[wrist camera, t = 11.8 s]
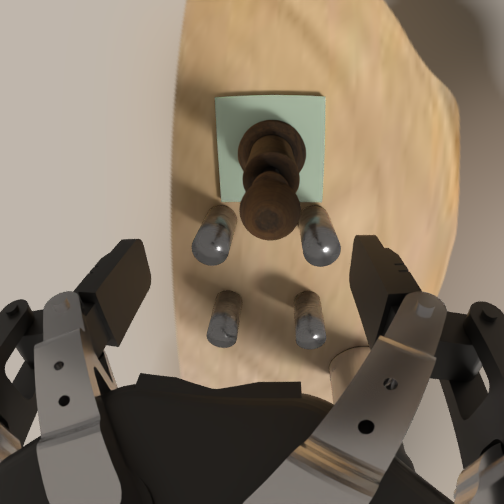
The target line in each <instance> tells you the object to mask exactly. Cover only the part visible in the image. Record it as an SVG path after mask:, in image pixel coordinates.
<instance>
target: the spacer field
mask: <svg viewBox="0 0 504 504" xmlns="http://www.w3.org/2000/svg"><path fill="white" fill-rule="evenodd" d="M236 224H237V217H236V214H235V213H234V211H233V210H232V209H230V208H229V207H227V206H222V205H220V206H215V207H213V208H211V209H210V210H209V212H208V213H207V215H206V217H205V219H204V221H203V223H202V225H201V227H200V229H199V231H198V233H197V235H196V237H195V238H194V240H193V243H192V252H193V255H194V256H195V258H196V259H197V260H198V261H200V262H201V263H203V264H205V265H210V266H214V265H219V264H221V263H222V262H224V261H225V260H226V258H227V256H228V253H229V250H230V246H231V242H232V239H233V235H234V231H235V228H236ZM298 224H299V229H300V236H301V242H302V248H303V254H304V257H305V259H306V260H307V261H308V262H309V263H310V264H312V265H314V266H319V267H322V266H327V265H330V264H332V263H333V262H334V261H335V260H336V259H337V258H338V257H339V255H340V251H341V246H340V243H339V240H338V238H337V235H336V233H335V230H334V228H333V225H332V223H331V220H330V218H329V215H328V213H327V212H326V210H325V209H323V208H322V207H320V206H309V207H306V208H305V209H303V210H302V211H301V214H300V219H299V221H298ZM241 307H242V299H241V297H240V296H239V295H238V294H237V293H235V292H233V291H222V292H220V293H219V294H218V295H217V297H216V301H215V304H214V308H213V312H212V316H211V320H210V324H209V327H208V331H207V339H208V341H209V342H210V343H211V344H213V345H214V346H217V347H221V348H227V347H231V346H233V345H234V344H235V343H236V340H237V333H238V327H239V320H240V313H241ZM294 314H295V331H296V343H297V345H298V346H300V347H301V348H304V349H315V348H318V347H320V346H322V345H323V344H324V343H325V341H326V332H325V326H324V320H323V314H322V308H321V302H320V298H319V296H318V295H317V294H316V293H313V292H302V293H300V294H299V295H297V296H296V298H295V299H294Z"/></svg>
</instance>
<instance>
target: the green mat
mask: <svg viewBox="0 0 504 504" xmlns="http://www.w3.org/2000/svg"><path fill="white" fill-rule="evenodd" d="M215 110H216V128H217V145H218V160H219V175H220V189H221V202H241V200H242V197H243V195H244V194H245V189H244V187H243V181H242V178H243V172H244V171H243V170H242V168H241V166H240V164H239V161H238V146H239V143H240V141H241V139H242V137H243V135H244V134H245V132H246V131H247V130H248V129H249V128H250V127H251V126H253V125H254V124H256V123H258V122H261V121H264V120H280V121H283V122H286V123H288V124H289V125H291V126H292V127H294V128H295V129H296V130H297V131H298V133H299V134H300V135H301V137H302V139H303V141H304V144H305V147H306V160H305V164H304V166H303V168H302V170H301V171H300V173H299V175H300V183H299V188H298V190H297V192H296V195H297V197H298V199H299V202H322V195H323V176H324V150H325V97H323V96H302V95H250V96H228V97H215Z"/></svg>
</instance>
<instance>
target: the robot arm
mask: <svg viewBox="0 0 504 504" xmlns="http://www.w3.org/2000/svg"><path fill="white" fill-rule="evenodd" d="M349 282H350V288H351V291H352V294H353V297H354V300H355V303H356V306H357V309H358V312H359V315H360V318H361V321H362V324H363V327H364V331H365V334H366V337H367V340H368V344H369V347H357V348H352V349H349V350H346V351H344V352H342V353H340V354H339V355H337V356H336V357H335V358H334V359H333V360H332V362H331V363H330V366H329V372H330V381H331V388H332V396H333V404H332V403H330V402H328V401H326V400H323V399H321V398H318V397H315V396H311V395H308V394H302V393H301V382H256V383H251V384H246V385H240V386H234V387H228V388H222V389H211V388H208V387H204V386H201V385H198V384H194V383H191V382H188V381H185V380H182V379H179V378H176V377H167V376H159V375H150V374H143V373H140V375H139V378H138V381H137V383H136V384H133V385H128V386H123V387H120V388H118V387H117V384H116V382H115V379H114V376H113V373H112V370H111V367H110V364H109V361H108V357H107V355H106V353H105V351H104V348H105V346H106V345H109V346H116V347H119V345H120V343H121V342H122V340H123V338H124V336H125V333H126V332H127V330H128V328H129V326H130V324H131V322H132V320H133V318H134V316H135V314H136V312H137V311H138V309H139V307H140V305H141V303H142V301H143V300H144V298H145V296H146V294H147V292H148V290H149V288H150V285H151V274H150V269H149V266H148V261H147V257H146V253H145V249H144V245H143V242H142V241H141V240H140V239H124V240H121V241H120V242H119V243H118V244H117V246H115V248H114V249H113V250H112V251H111V252H110V253H109V254H107V255H106V256H104V257H103V258H101V259H100V260H99V262H98V263H97V264H96V265H95V267H94V268H93V269H92V270H91V271H90V273H89V274H88V275H87V276H86V277H85V278H84V279H83V280H82V282H81V283H80V284H79V285H78V287H77V288H76V289H75V290H74V291H73V292H72V291H67V292H63V293H59V294H57V295H55V296H54V297H52V298H51V299H50V300H49V301H48V302H47V303H46V304H45V306H44V309H43V310H37V311H32V310H31V309H30V307H29V305H28V303H27V301H26V300H22V299H20V300H16V301H13V302H11V303H10V304H8V305H7V306H6V307H5V308H4V309H3V310H2V311H1V312H0V504H504V314H503V313H502V312H501V310H500V309H498V308H497V307H496V306H494V305H492V304H490V303H487V302H476V303H474V304H472V305H471V307H470V310H469V312H468V314H467V315H466V314H460V313H453V312H448V311H447V309H446V306H445V304H444V303H443V302H442V301H441V300H440V299H439V298H438V297H436V296H434V295H432V294H430V293H426V292H422V291H421V289H420V287H419V286H418V284H417V283H416V281H415V279H414V278H413V276H412V275H411V273H410V272H408V269H407V267H406V266H405V265H404V263H403V261H402V260H401V258H400V257H399V255H398V254H396V253H395V252H393V251H392V250H391V249H389V248H384V247H383V245H382V244H381V242H380V241H379V239H378V238H377V236H376V235H356V236H355V238H354V243H353V251H352V259H351V266H350V274H349ZM15 348H17V350H18V351H19V353H20V354H21V356H22V357H23V359H24V360H25V362H24V363H23V365H22V367H21V368H20V370H19V372H18V374H17V376H16V377H15V379H14V381H13V383H11V382H10V380H9V379H8V378H7V376H6V374H5V364H6V362H7V360H8V359H9V357H10V355H11V354H12V352H13V351H14V349H15ZM482 366H483V368H484V370H485V372H486V375H487V377H488V380H489V385H490V388H489V393H488V392H487V390H486V387H485V385H484V382H483V380H482V378H481V375H480V373H479V371H480V369H481V368H482ZM430 378H433V379H439V380H440V383H441V386H442V389H443V392H444V395H445V398H446V402H447V405H448V408H449V412H450V415H451V418H452V422H453V426H454V430H455V433H456V438H457V442H458V446H459V450H460V454H461V459H462V464H463V469H464V470H463V471H462V472H461V474H460V475H459V477H458V480H457V485H456V489H455V491H454V499H455V502H453V501H451V500H450V499H449V498H448V497H446V496H445V495H444V494H442V493H441V492H439V491H438V490H437V489H436V488H435V487H433V486H432V485H431V484H429V483H428V482H427V481H426V480H424V479H423V478H422V477H421V476H419V475H418V474H417V473H416V472H415V469H414V466H413V463H412V461H411V460H410V458H409V457H408V456H407V454H406V453H405V450H404V446H403V439H404V437H405V435H406V433H407V431H408V429H409V426H410V424H411V422H412V420H413V418H414V415H415V413H416V411H417V409H418V406H419V404H420V402H421V399H422V397H423V394H424V392H425V389H426V387H427V384H428V381H429V379H430ZM37 411H38V416H39V423H40V430H41V436H40V437H38V438H36V439H35V440H33V441H32V442H30V443H29V444H27V445H25V446H24V447H23V445H24V442H25V439H26V437H27V434H28V432H29V430H30V427H31V425H32V422H33V420H34V418H35V416H36V413H37Z"/></svg>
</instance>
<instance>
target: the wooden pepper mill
mask: <svg viewBox="0 0 504 504" xmlns="http://www.w3.org/2000/svg"><path fill="white" fill-rule="evenodd" d="M305 160H306V147H305V144H304V141H303V139H302V137H301V135H300V134H299V133H298V131H297V130H296V129H295V128H294V127H292V126H291V125H289V124H288V123H286V122H283V121H280V120H264V121H261V122H258V123H256V124H254V125H253V126H251V127H250V128H249V129H248V130H247V131H246V132H245V134H244V135H243V137H242V139H241V141H240V143H239V146H238V161H239V164H240V166H241V168H242V170H243V171H244V172H243V178H242V181H243V187H244V189H245V194H244V195H243V197H242V200H241V203H240V217H241V220H242V223H243V225H244V226H245V228H246V229H247V230H248V231H249V232H250V233H251V234H252V235H254V236H256V237H258V238H260V239H263V240H278V239H281V238H283V237H285V236H287V235H288V234H290V233H291V232H292V231H293V230H294V228H295V227H296V225H297V224H298V221H299V219H300V214H301V206H300V202H299V199H298V197H297V195H296V192H297V190H298V188H299V183H300V175H299V173H300V171H301V170H302V168H303V166H304V164H305Z"/></svg>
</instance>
